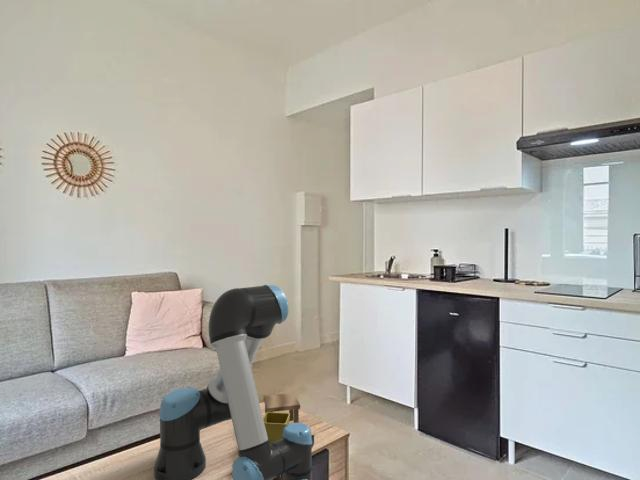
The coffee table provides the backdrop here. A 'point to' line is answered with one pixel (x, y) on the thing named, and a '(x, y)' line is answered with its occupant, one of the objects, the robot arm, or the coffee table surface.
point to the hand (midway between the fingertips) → (279, 432)
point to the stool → (283, 404)
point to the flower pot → (275, 425)
